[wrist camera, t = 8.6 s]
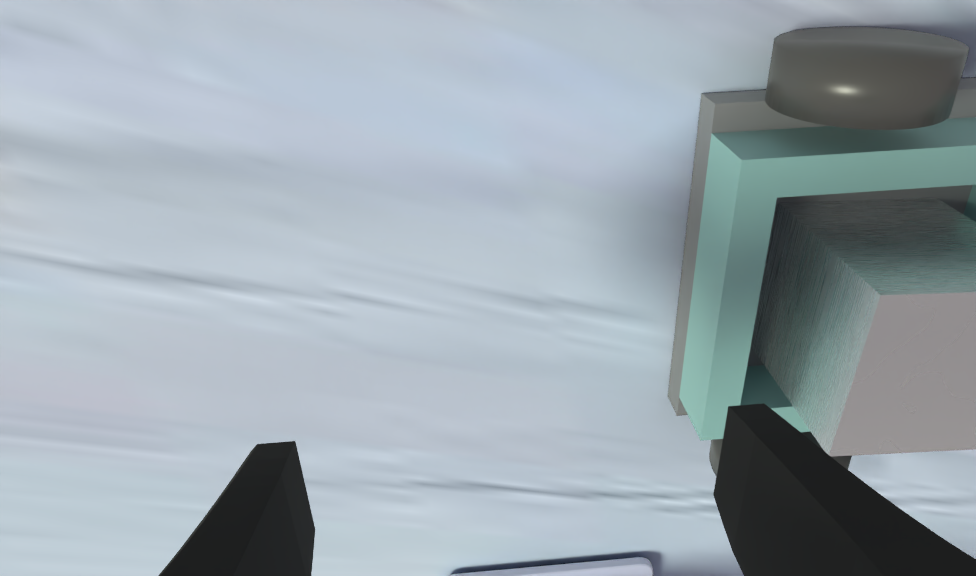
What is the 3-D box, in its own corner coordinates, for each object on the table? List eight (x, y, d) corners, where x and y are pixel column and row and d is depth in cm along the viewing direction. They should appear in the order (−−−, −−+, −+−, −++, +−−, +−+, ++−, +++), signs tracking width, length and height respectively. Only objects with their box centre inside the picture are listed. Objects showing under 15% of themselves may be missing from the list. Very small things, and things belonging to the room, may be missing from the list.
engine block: (889, 335, 22) (1005, 447, 18) (746, 340, 22) (828, 456, 17) (937, 197, 20) (1082, 288, 15) (778, 201, 19) (880, 295, 15)
